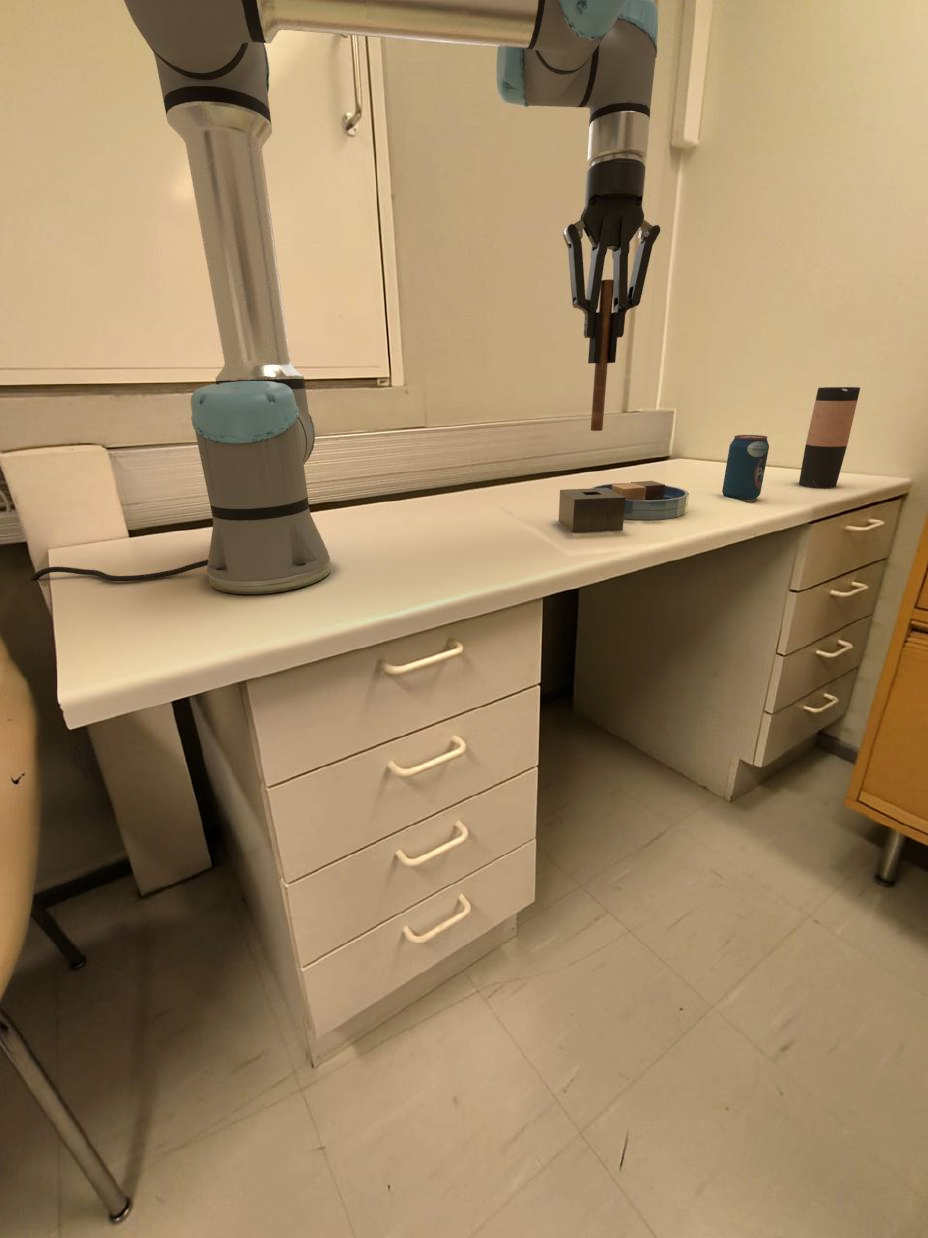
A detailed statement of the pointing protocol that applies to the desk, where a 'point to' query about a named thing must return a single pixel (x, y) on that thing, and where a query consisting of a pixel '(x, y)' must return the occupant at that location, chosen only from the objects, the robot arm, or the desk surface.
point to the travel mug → (828, 436)
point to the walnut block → (652, 490)
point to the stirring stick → (602, 356)
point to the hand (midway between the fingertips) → (601, 362)
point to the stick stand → (591, 510)
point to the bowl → (656, 505)
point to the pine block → (630, 491)
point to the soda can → (745, 467)
